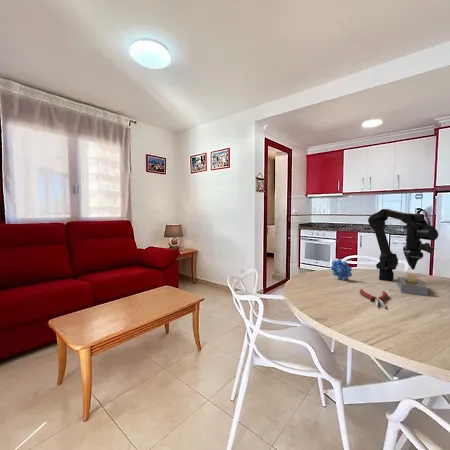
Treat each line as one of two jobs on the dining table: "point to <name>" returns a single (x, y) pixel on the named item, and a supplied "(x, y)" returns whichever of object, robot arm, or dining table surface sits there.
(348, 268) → the grapes
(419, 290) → the grey block with hole
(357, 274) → the dining table surface
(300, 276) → the dining table surface
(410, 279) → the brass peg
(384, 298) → the pliers
